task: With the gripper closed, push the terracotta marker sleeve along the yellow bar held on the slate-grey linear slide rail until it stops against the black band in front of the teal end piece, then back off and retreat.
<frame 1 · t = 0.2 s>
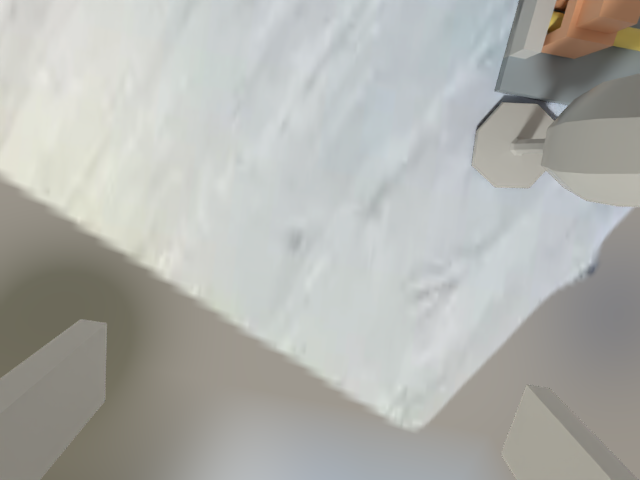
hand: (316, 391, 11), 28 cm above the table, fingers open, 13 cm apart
sleeve: (590, 14, 29), point 5 cm above the table, slide at 0.0 cm
linear slide rail: (597, 41, 34), on the table
wineglass: (510, 146, 36), on the table
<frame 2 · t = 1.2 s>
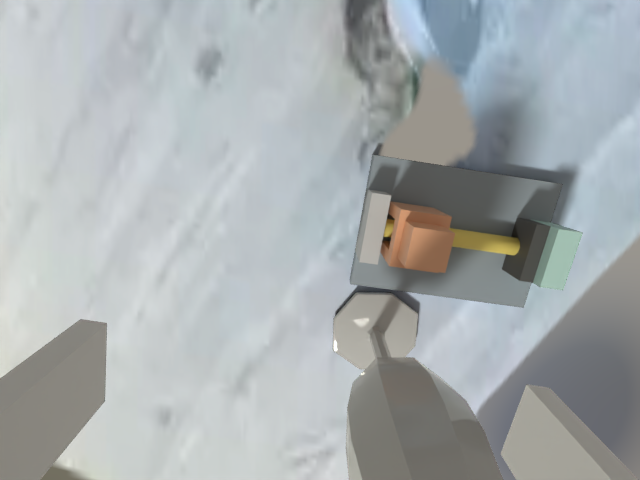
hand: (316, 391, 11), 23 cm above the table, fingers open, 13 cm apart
sleeve: (416, 238, 29), point 5 cm above the table, slide at 0.0 cm
linear slide rail: (449, 233, 33), on the table
wineglass: (373, 327, 36), on the table
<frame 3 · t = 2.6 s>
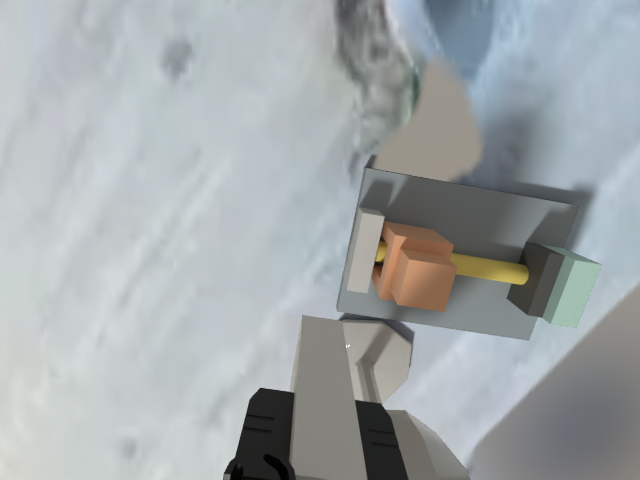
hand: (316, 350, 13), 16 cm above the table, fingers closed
sleeve: (412, 267, 25), point 5 cm above the table, slide at 0.0 cm
linear slide rail: (449, 256, 30), on the table
wineglass: (362, 357, 32), on the table
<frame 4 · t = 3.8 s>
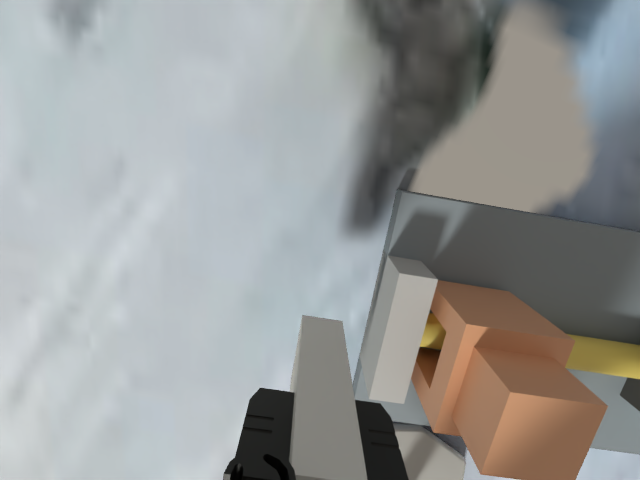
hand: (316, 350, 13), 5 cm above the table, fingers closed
sleeve: (488, 371, 14), point 5 cm above the table, slide at 0.0 cm
linear slide rail: (527, 328, 19), on the table
wineglass: (387, 473, 21), on the table
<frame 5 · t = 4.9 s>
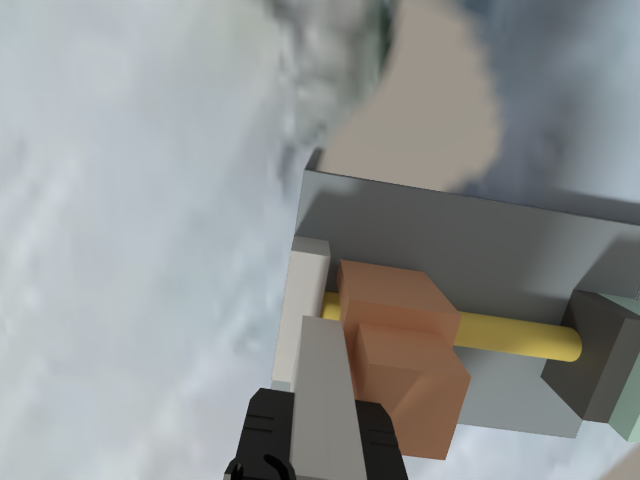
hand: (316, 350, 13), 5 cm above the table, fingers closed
sleeve: (386, 349, 14), point 5 cm above the table, slide at 0.3 cm, touching gripper
linear slide rail: (447, 310, 19), on the table
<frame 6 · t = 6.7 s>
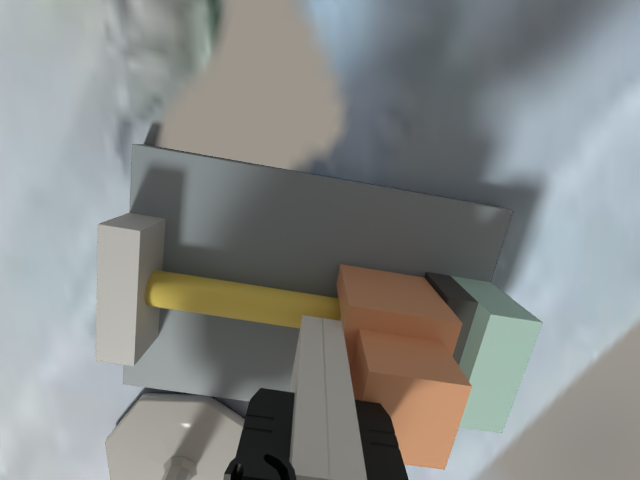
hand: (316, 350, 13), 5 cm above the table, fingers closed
sleeve: (386, 356, 14), point 5 cm above the table, slide at 7.7 cm, touching gripper
linear slide rail: (306, 294, 18), on the table
wineglass: (189, 448, 21), on the table
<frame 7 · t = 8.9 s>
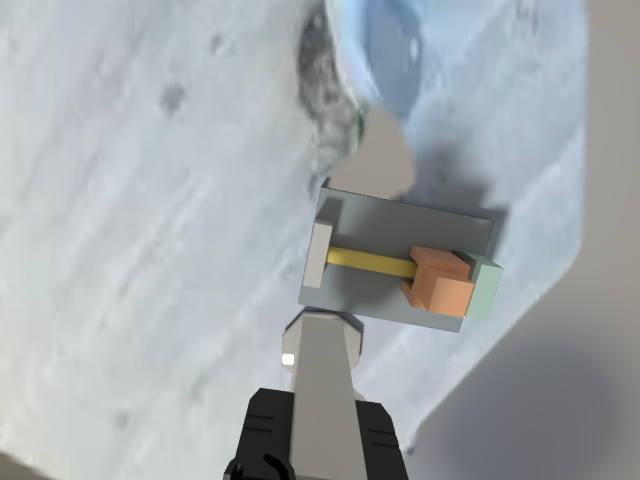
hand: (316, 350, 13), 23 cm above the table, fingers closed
sleeve: (436, 282, 32), point 5 cm above the table, slide at 7.7 cm
linear slide rail: (391, 261, 36), on the table
wineglass: (320, 345, 38), on the table
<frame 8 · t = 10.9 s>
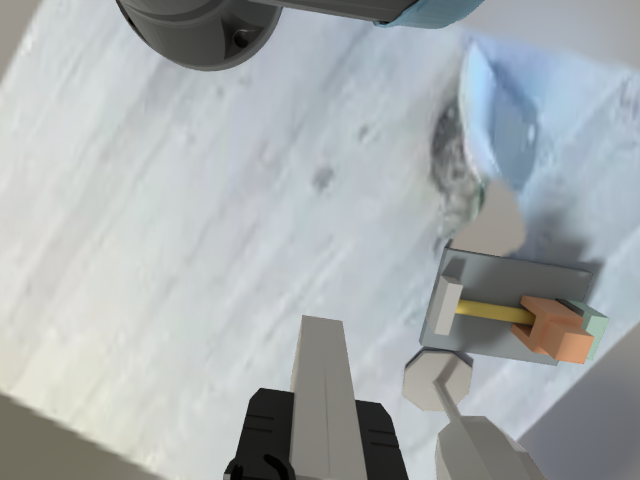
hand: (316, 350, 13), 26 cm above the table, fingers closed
sleeve: (551, 330, 38), point 5 cm above the table, slide at 7.7 cm
linear slide rail: (500, 306, 42), on the table
wineglass: (434, 377, 45), on the table
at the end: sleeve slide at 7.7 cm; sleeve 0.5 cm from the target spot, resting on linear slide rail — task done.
